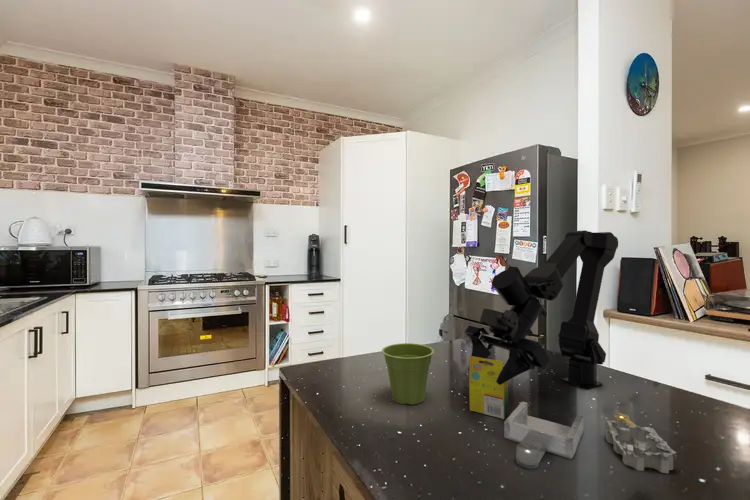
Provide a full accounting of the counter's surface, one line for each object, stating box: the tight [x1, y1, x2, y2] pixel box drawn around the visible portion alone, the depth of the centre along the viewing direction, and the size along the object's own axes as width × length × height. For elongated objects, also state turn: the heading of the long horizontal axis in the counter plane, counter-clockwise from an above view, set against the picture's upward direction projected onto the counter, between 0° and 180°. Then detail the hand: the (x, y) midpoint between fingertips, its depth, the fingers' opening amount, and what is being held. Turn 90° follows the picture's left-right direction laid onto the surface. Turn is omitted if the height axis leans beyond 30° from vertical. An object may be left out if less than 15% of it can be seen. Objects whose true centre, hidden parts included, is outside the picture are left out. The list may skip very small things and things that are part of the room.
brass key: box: [614, 412, 637, 427], centre depth 72 cm, size 7×2×1 cm, turn 174°
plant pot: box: [381, 342, 435, 406], centre depth 84 cm, size 12×12×11 cm
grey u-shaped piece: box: [503, 401, 584, 470], centre depth 65 cm, size 18×11×3 cm, turn 142°
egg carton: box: [604, 416, 678, 474], centre depth 62 cm, size 11×8×4 cm
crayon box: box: [468, 355, 509, 420], centre depth 77 cm, size 7×3×12 cm, turn 54°
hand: (483, 377), depth 76 cm, fingers closed on crayon box, 7 cm apart
